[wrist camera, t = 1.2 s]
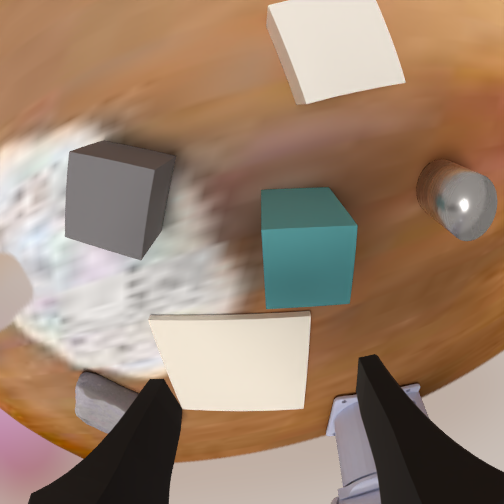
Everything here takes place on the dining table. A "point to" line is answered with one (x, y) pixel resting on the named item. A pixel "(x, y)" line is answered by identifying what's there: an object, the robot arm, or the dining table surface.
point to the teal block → (306, 248)
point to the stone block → (101, 401)
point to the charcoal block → (117, 196)
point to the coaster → (235, 359)
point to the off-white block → (332, 47)
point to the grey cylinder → (457, 198)
